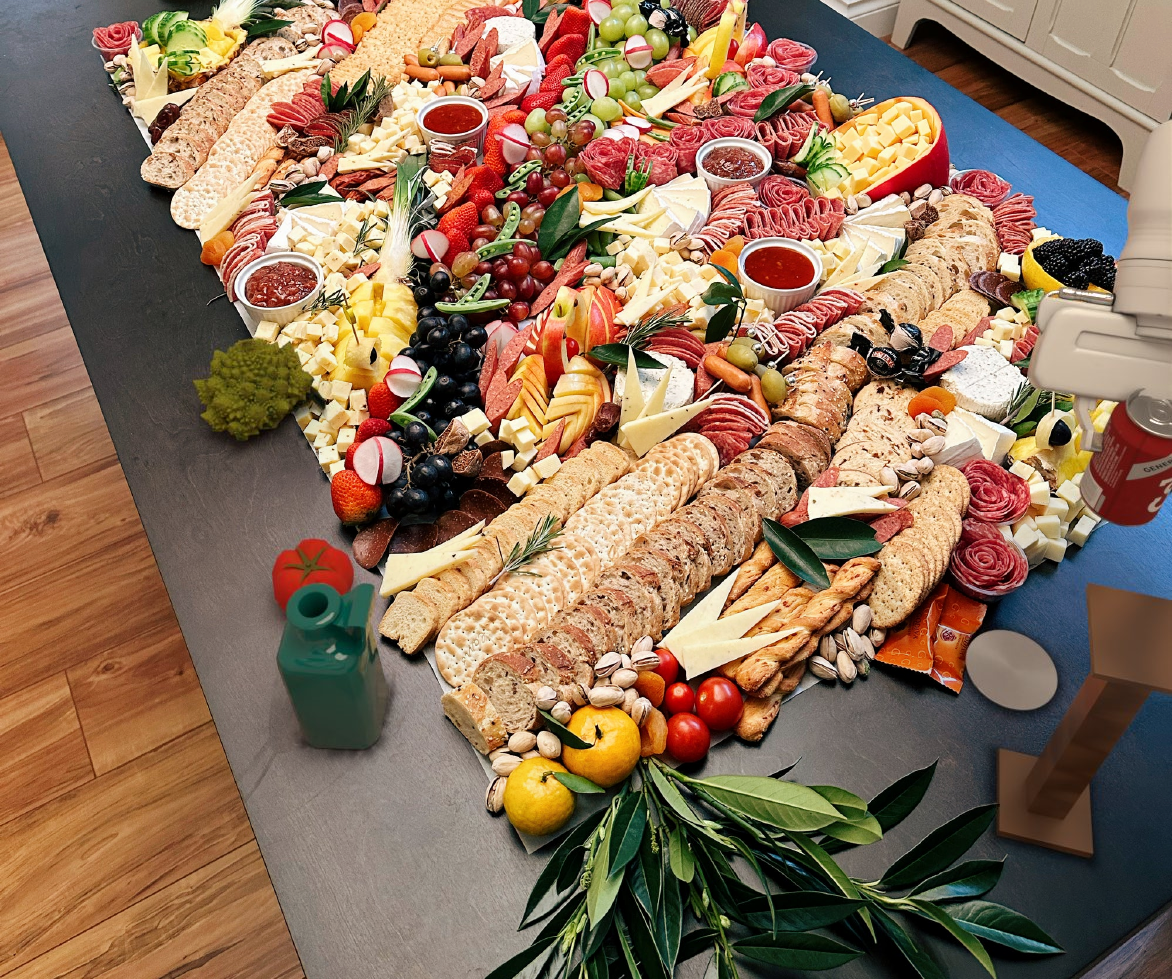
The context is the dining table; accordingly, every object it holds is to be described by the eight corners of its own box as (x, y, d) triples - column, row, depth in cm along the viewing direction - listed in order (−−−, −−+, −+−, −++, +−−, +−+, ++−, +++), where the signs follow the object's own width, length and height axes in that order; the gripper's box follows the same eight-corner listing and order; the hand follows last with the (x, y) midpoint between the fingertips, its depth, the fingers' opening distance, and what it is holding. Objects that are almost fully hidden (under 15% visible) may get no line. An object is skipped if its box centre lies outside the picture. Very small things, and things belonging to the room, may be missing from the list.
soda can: (1078, 522, 99) (1121, 432, 91) (1075, 465, 104) (1116, 375, 96) (1159, 538, 98) (1210, 449, 89) (1152, 480, 102) (1201, 390, 94)
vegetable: (353, 379, 155) (276, 334, 143) (291, 476, 153) (208, 439, 142) (296, 342, 164) (220, 298, 153) (237, 433, 162) (155, 395, 151)
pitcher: (300, 749, 120) (257, 639, 105) (317, 677, 126) (279, 564, 111) (390, 752, 120) (361, 643, 105) (403, 681, 126) (377, 567, 111)
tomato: (283, 637, 130) (270, 601, 125) (276, 576, 136) (263, 539, 131) (363, 617, 132) (354, 581, 127) (353, 557, 138) (343, 520, 133)
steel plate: (1055, 642, 129) (1056, 640, 129) (1058, 721, 122) (1059, 719, 122) (965, 623, 131) (966, 621, 131) (964, 699, 124) (964, 697, 124)
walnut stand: (1084, 774, 118) (1198, 605, 96) (1089, 858, 112) (1212, 698, 89) (996, 753, 120) (1088, 582, 97) (996, 835, 113) (1094, 672, 91)
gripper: (1049, 279, 95) (1021, 440, 95) (1312, 319, 91) (1283, 487, 91) (1034, 285, 101) (1008, 436, 101) (1280, 323, 97) (1253, 480, 97)
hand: (1140, 460), depth 96 cm, fingers closed on soda can, 7 cm apart
